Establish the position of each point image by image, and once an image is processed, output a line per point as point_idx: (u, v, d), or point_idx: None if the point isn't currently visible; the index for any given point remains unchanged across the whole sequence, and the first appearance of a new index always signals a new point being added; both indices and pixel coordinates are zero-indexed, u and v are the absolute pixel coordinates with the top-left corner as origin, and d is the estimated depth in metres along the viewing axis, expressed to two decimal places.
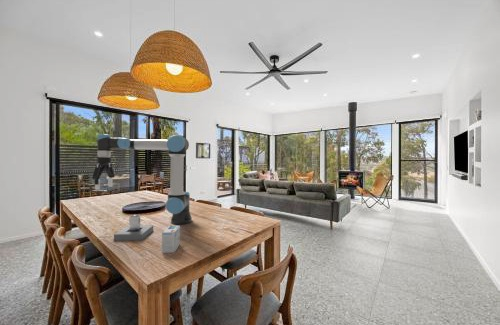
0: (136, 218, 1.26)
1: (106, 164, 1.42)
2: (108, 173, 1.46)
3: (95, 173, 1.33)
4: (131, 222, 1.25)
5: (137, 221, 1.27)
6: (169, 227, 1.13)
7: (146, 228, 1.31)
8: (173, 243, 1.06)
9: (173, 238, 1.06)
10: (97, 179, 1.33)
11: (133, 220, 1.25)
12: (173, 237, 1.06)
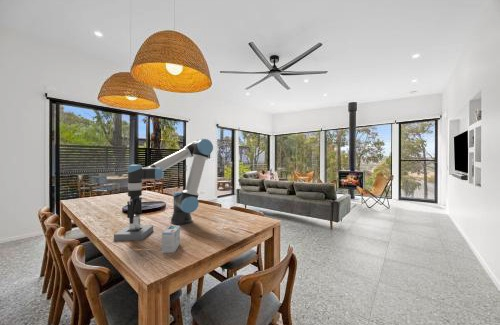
0: (136, 218, 1.26)
1: (137, 196, 1.29)
2: (136, 208, 1.31)
3: (129, 212, 1.22)
4: None
5: (137, 221, 1.27)
6: (169, 227, 1.13)
7: (146, 228, 1.31)
8: (173, 243, 1.06)
9: (173, 238, 1.06)
10: (132, 218, 1.24)
11: None
12: (173, 237, 1.06)
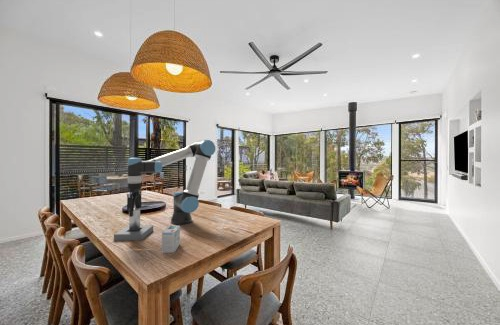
0: (136, 211, 1.26)
1: (137, 189, 1.29)
2: (136, 202, 1.30)
3: (129, 205, 1.21)
4: None
5: (137, 214, 1.26)
6: (169, 227, 1.13)
7: (146, 228, 1.31)
8: (173, 243, 1.06)
9: (173, 238, 1.06)
10: (132, 211, 1.23)
11: None
12: (173, 237, 1.06)
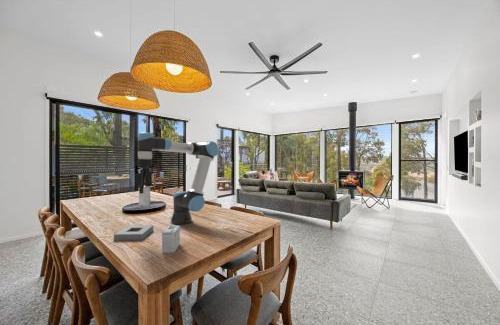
0: (146, 188, 1.20)
1: (147, 165, 1.23)
2: (146, 179, 1.25)
3: (139, 181, 1.16)
4: None
5: (147, 192, 1.21)
6: (169, 227, 1.13)
7: (146, 228, 1.31)
8: (173, 243, 1.06)
9: (173, 238, 1.06)
10: (142, 187, 1.18)
11: None
12: (173, 237, 1.06)
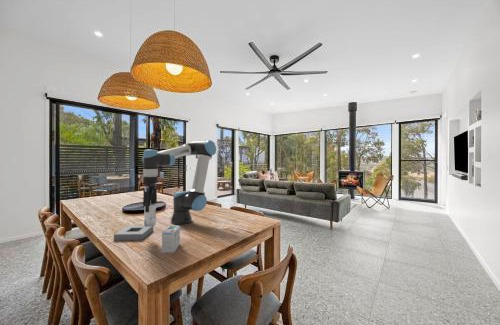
0: (152, 206, 1.18)
1: (153, 183, 1.21)
2: (152, 197, 1.22)
3: (145, 199, 1.13)
4: None
5: (153, 210, 1.18)
6: (169, 227, 1.13)
7: (146, 228, 1.31)
8: (173, 243, 1.06)
9: (173, 238, 1.06)
10: (148, 206, 1.15)
11: None
12: (173, 237, 1.06)
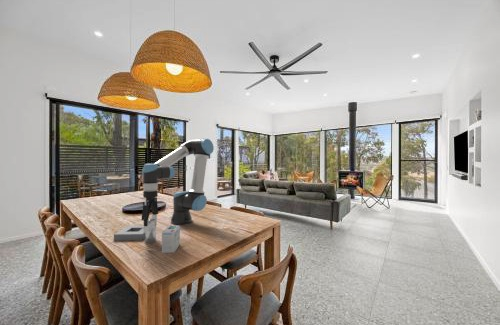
0: (152, 222, 1.18)
1: (153, 198, 1.21)
2: (153, 209, 1.24)
3: (144, 213, 1.12)
4: None
5: (153, 226, 1.19)
6: (169, 227, 1.13)
7: None
8: (173, 243, 1.06)
9: (173, 238, 1.06)
10: (146, 220, 1.14)
11: (149, 225, 1.17)
12: (173, 237, 1.06)
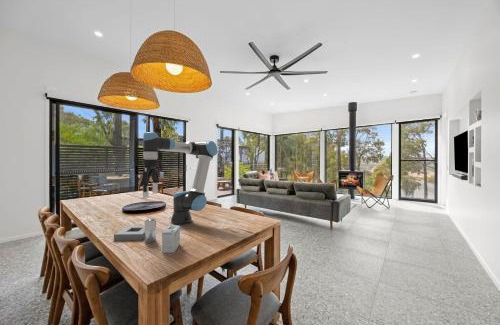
0: (152, 222, 1.18)
1: (153, 167, 1.21)
2: (153, 178, 1.25)
3: (144, 178, 1.12)
4: (147, 227, 1.17)
5: (153, 226, 1.19)
6: (169, 227, 1.13)
7: None
8: (173, 243, 1.06)
9: (173, 238, 1.06)
10: (146, 186, 1.12)
11: (149, 225, 1.17)
12: (173, 237, 1.06)
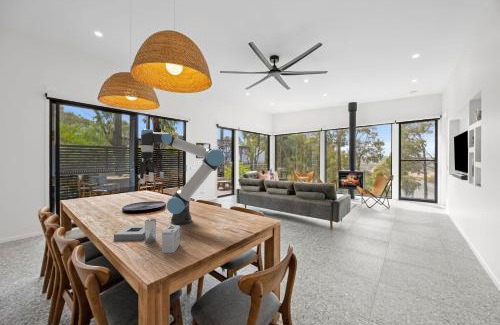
0: (152, 222, 1.18)
1: (149, 159, 1.43)
2: (149, 168, 1.48)
3: (141, 167, 1.34)
4: (147, 227, 1.17)
5: (153, 226, 1.19)
6: (169, 227, 1.13)
7: None
8: (173, 243, 1.06)
9: (173, 238, 1.06)
10: (142, 173, 1.35)
11: (149, 225, 1.17)
12: (173, 237, 1.06)
